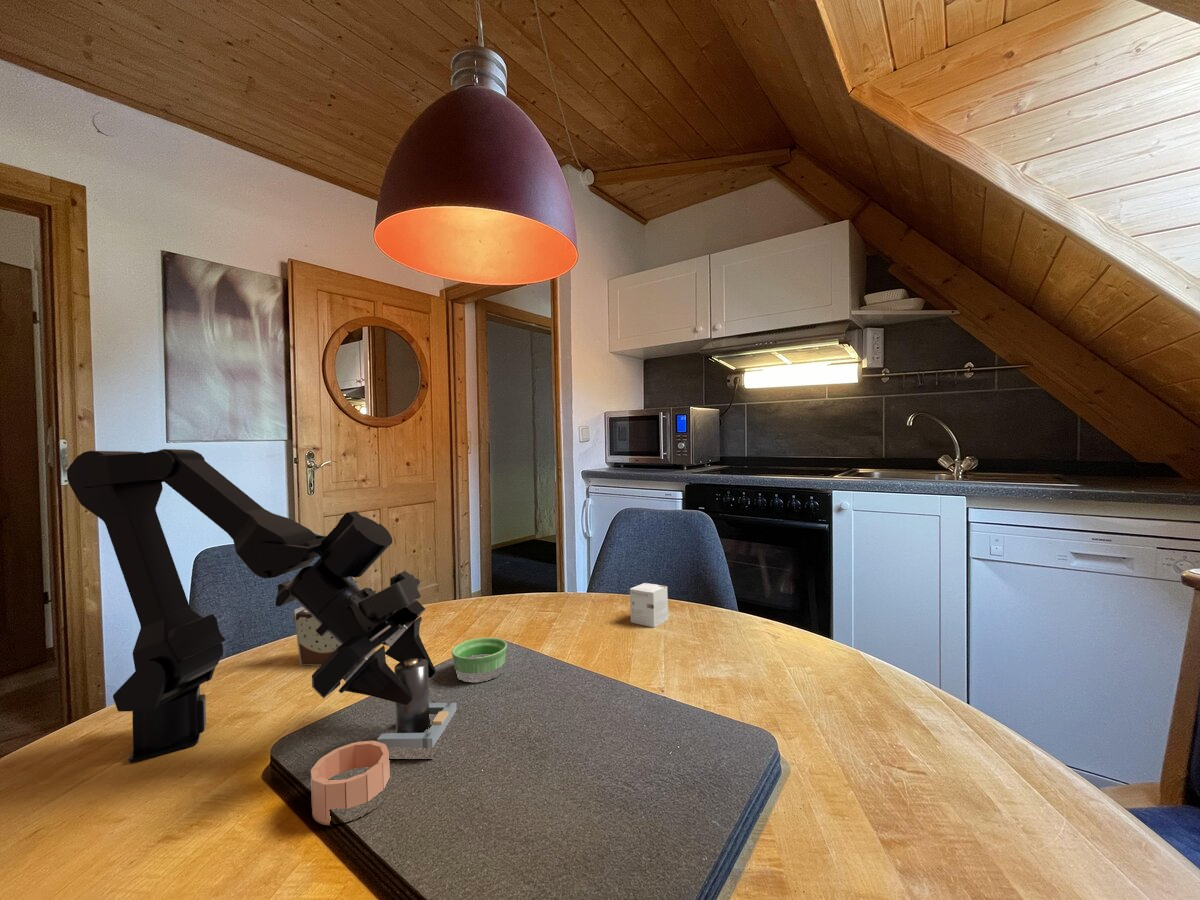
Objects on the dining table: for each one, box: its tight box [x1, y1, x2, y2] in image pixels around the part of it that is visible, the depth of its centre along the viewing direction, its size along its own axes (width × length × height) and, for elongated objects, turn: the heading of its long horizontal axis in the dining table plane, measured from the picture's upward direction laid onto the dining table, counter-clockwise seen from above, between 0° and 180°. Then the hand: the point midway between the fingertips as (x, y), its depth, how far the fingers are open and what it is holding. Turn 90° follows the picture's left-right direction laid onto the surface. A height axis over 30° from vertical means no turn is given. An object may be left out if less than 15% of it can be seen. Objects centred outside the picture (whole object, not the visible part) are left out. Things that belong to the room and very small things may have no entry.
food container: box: [291, 606, 341, 665], centre depth 89 cm, size 12×6×10 cm, turn 84°
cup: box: [310, 740, 391, 826], centre depth 51 cm, size 7×7×4 cm
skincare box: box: [629, 582, 669, 628], centre depth 103 cm, size 6×6×7 cm
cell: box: [394, 658, 430, 733], centre depth 62 cm, size 4×4×10 cm
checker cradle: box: [376, 702, 458, 748], centre depth 61 cm, size 7×8×3 cm
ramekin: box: [451, 637, 508, 674], centre depth 81 cm, size 9×9×4 cm
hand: (422, 687), depth 62 cm, fingers open, 7 cm apart
